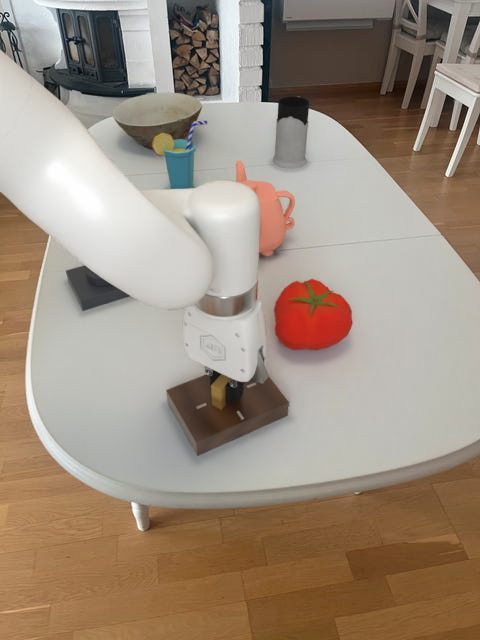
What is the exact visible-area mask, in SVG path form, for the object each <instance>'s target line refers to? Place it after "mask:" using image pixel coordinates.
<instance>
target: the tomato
mask: <svg viewBox="0 0 480 640" xmlns="http://www.w3.org/2000/svg"><path fill="white" fill-rule="evenodd" d="M273 314H274V320H275V321H274V322H275V327H274V333H275V337H276V338H277V340H278V342H280V343H281V344H282V345H283V346H284V347H286V348H287V349H291V350H293V351H298V350H299V351H300V350H310V351H311V350H312V351H319V350H323V349H328V348H331V347H333V346H335V345H337V344H338V343H340V342H341V341H343V340H344V339H345V338H346V337H347V336H348V335H349V333H350V331H351V329H352V327H353V317H352V316H353V311H352V308H351V306H350V303H348V301H347V300H346V298H345V297H343V295H341V294H339V293H336V292H335V291H334V290H331V289H330V288H329V287H328V286H326V285H325V284H324V283H323V282H321V281H320V280H317V279H313V278H311V279H308V280H304V281H303V282H301V281H298V280H296V281H293V282H291V283H289V284H288V285H286V286H285V287H284V288H283V290H282V291H281V292H280V294H279V296H278V297H277V299H276V301H275V304H274V308H273Z"/></svg>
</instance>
